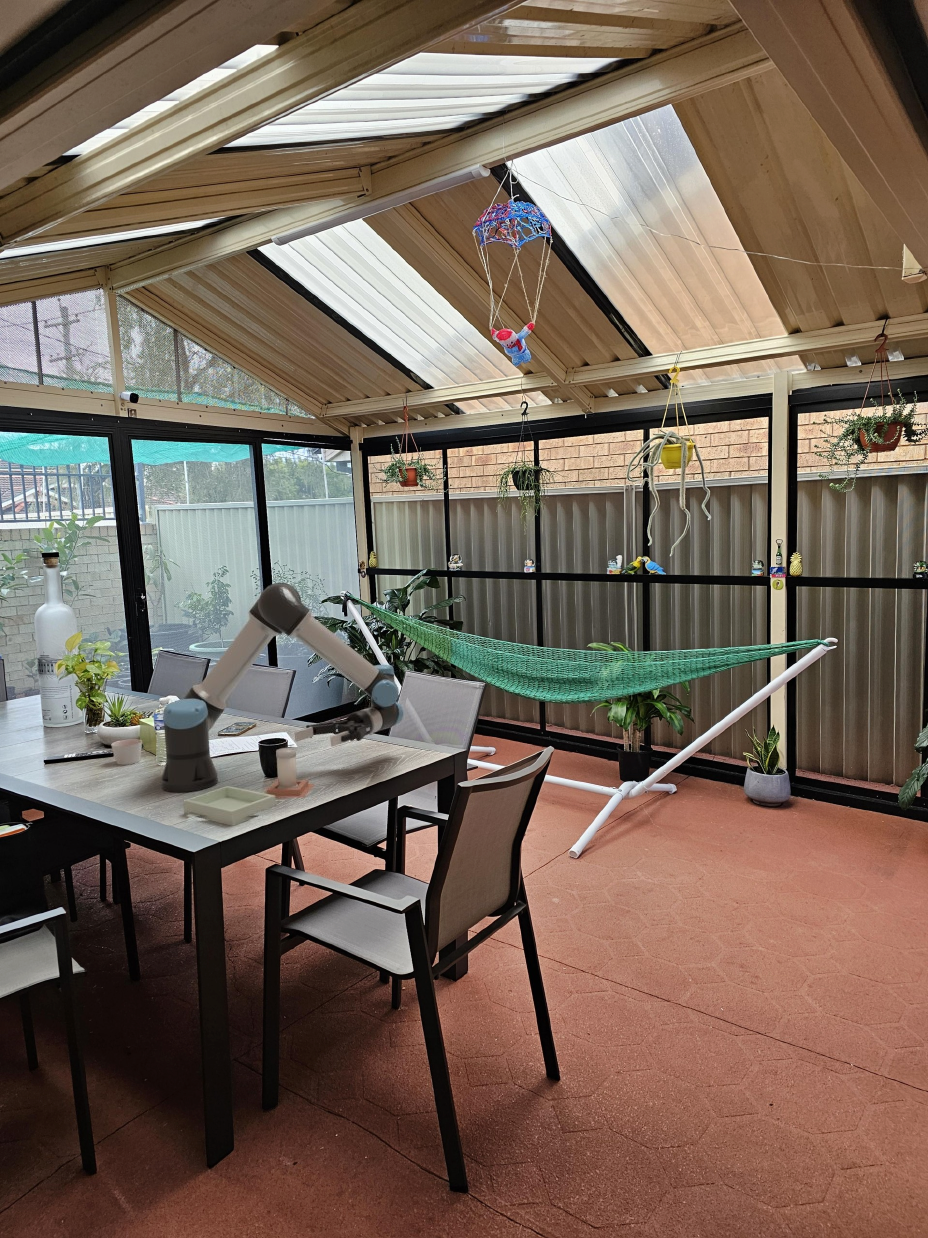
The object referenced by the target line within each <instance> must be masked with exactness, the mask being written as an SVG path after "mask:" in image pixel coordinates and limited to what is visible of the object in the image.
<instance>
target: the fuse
mask: <svg viewBox="0 0 928 1238" xmlns="http://www.w3.org/2000/svg"><path fill="white" fill-rule="evenodd" d="M275 752H276V753H275V754H276V755H275V757H276V763H277V764H276V768H277V780H278V788H296V787H297V786H298V784H297V780H298V771H297V770H298V769H297V748H295V747H282V748H279V749H276V751H275Z"/></svg>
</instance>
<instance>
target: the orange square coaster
mask: <svg viewBox="0 0 928 1238" xmlns="http://www.w3.org/2000/svg"><path fill="white" fill-rule="evenodd" d="M297 784H298V786H297V787H296V788H278V779H277V780H275V781H274V782H273V783H272V784H271V785H270V786H269V787H268V788H267V789H266V790H265V791H264V792H263V793H265V794H270V795H275V798H280V799H281V798H305V797H306V796H307V794H309V792H310V791H311V790H312V789H313V788H314V787H315V785H316V783H309V779H297Z"/></svg>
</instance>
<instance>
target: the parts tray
mask: <svg viewBox="0 0 928 1238" xmlns="http://www.w3.org/2000/svg"><path fill="white" fill-rule="evenodd" d="M275 806H277V802H276V798H275V795H270V794H265V793H264V792H258V791H255V790H249V789H245V788H240V787H234V786H230V785H226V786H223V787H219V788H217V789H214V790H211V791H208V792H205V793H201V794H199V795H196V796H194V797H193V796H192V797H190V798H187V799H184V800H183V813H184V815H189V814H191V813H193V814H198V815H193V817H194V818H200V819H203V820H208V821H212V822H216V823H220V824H223V825H224V824H225V825H227V826H237V825H239V824H241V823H244V822H246V821H249V820H252V819H254V818H256V817H259V816H260V815H259V814H257V813H260V812H262V811H265V810H268V809H270V808H272V807H273V808H274V807H275ZM255 814H257V815H255Z"/></svg>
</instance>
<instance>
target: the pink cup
mask: <svg viewBox="0 0 928 1238" xmlns="http://www.w3.org/2000/svg"><path fill="white" fill-rule="evenodd" d="M110 745H111V750H112V752H113V757H114V760H115V763H116V765H118V766H119V765H120V766H129V765H134V764H137V763H139V762H140V761H141V756H142V755H141V754H142V746H143V740H142V739H138V738H137V739H136V738H133V739H130V738H129V739H123V740H117V741H114V742H112V743H111V744H110Z"/></svg>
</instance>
